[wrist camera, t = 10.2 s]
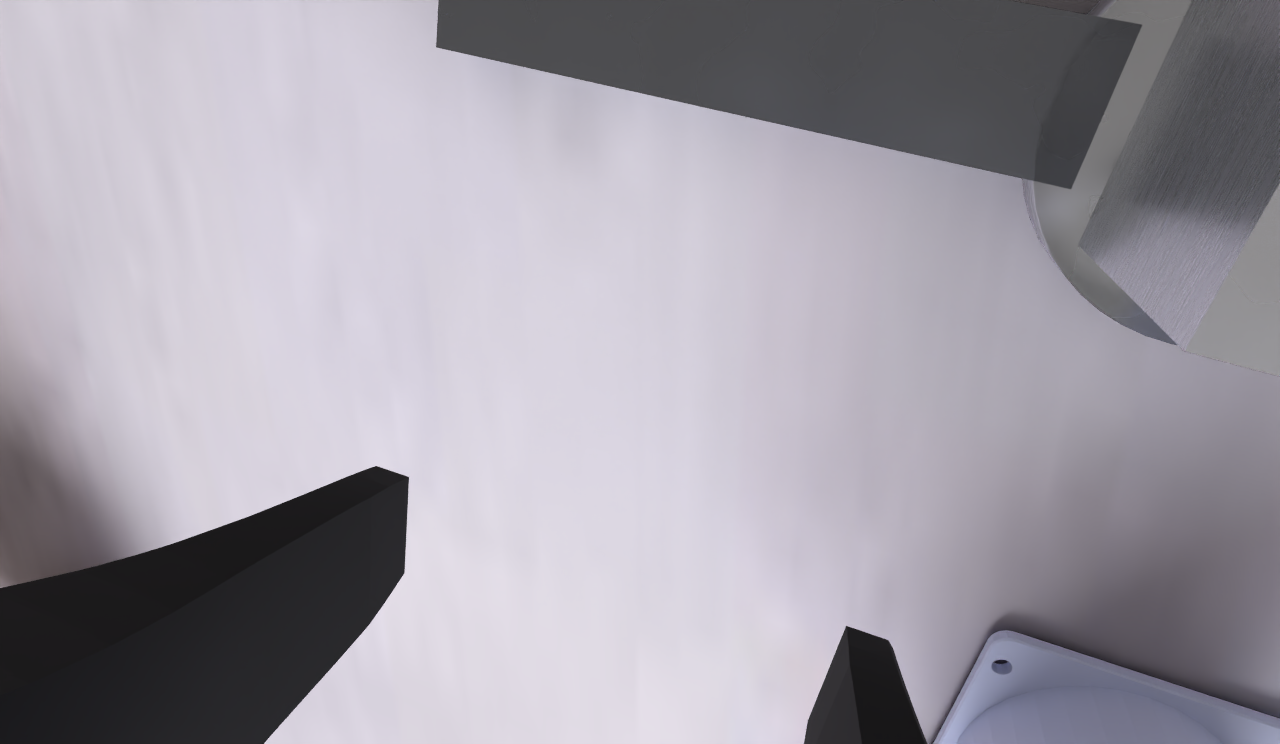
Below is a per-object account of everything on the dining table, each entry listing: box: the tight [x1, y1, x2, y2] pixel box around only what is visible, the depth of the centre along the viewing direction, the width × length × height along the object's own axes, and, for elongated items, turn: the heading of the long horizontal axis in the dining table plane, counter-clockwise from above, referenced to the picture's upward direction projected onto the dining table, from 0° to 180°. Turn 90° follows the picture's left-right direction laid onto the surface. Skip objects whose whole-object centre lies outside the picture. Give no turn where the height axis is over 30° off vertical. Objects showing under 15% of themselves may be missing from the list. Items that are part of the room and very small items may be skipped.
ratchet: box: [436, 0, 1192, 345], centre depth 14 cm, size 8×21×5 cm, turn 80°
